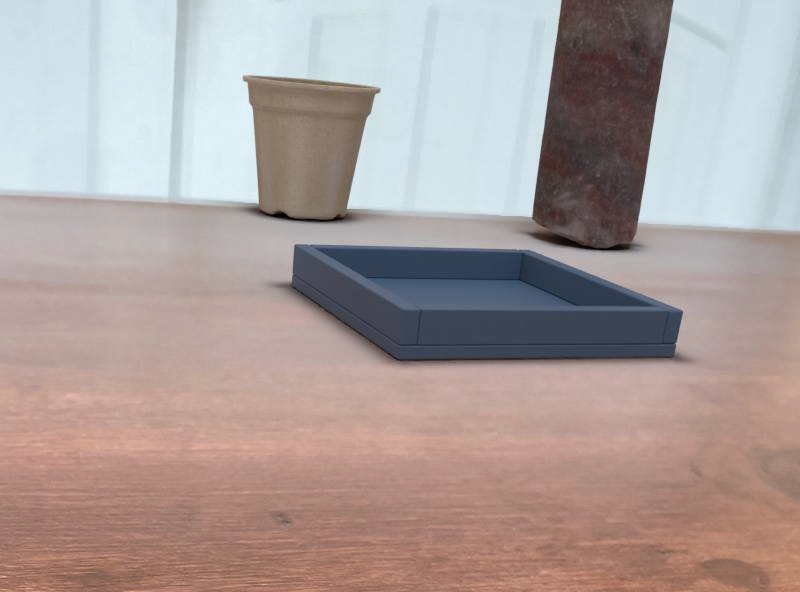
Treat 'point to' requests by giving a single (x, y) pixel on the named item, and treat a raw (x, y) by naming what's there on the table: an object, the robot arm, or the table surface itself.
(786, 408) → the table surface
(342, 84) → the flower pot
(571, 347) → the candle dish
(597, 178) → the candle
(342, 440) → the table surface
